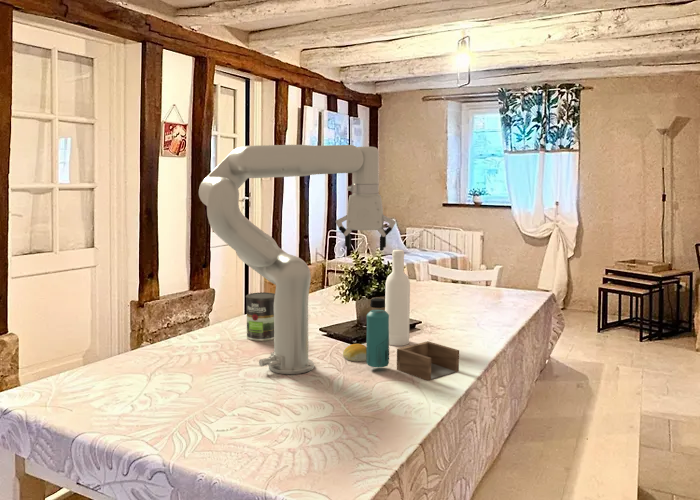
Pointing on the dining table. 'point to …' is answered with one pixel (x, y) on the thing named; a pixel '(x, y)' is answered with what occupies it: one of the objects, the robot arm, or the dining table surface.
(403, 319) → the bottle
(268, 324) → the coffee can
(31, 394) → the dining table surface
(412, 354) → the u rest
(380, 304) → the beverage bottle
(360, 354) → the bread roll
